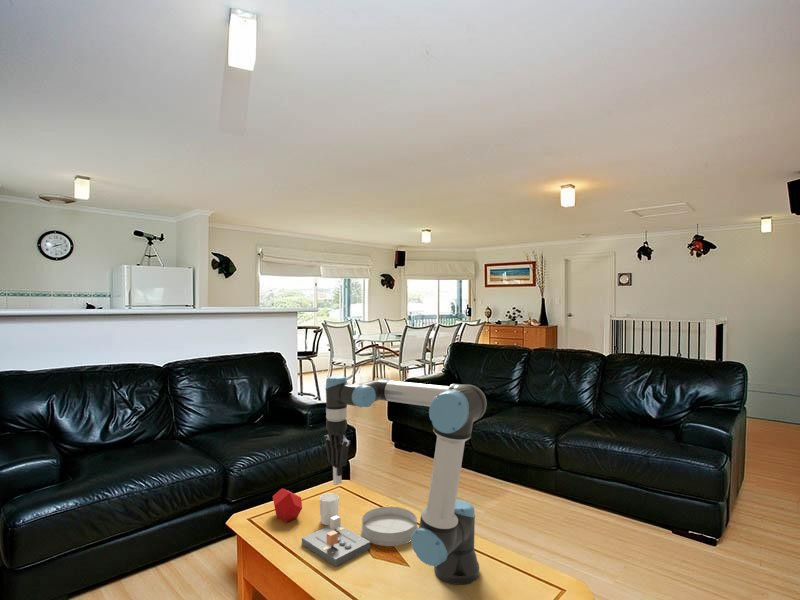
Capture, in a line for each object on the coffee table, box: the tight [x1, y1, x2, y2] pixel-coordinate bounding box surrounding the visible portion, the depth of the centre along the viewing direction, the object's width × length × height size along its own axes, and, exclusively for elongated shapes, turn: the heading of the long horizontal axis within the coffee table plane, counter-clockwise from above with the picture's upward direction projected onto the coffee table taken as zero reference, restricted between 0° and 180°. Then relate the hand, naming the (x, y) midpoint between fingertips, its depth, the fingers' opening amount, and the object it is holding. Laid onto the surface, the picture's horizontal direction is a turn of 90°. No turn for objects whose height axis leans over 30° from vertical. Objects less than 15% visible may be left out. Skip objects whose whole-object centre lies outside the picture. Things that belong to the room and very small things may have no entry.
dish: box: [360, 506, 419, 547], centre depth 182 cm, size 22×22×5 cm
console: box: [301, 524, 371, 567], centre depth 171 cm, size 20×16×3 cm
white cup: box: [319, 492, 340, 526], centre depth 190 cm, size 8×8×10 cm
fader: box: [327, 530, 338, 547], centre depth 166 cm, size 2×3×5 cm
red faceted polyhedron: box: [272, 488, 303, 523], centre depth 193 cm, size 12×12×15 cm
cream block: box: [329, 515, 341, 531], centre depth 177 cm, size 2×3×5 cm
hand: (337, 483), depth 169 cm, fingers closed
